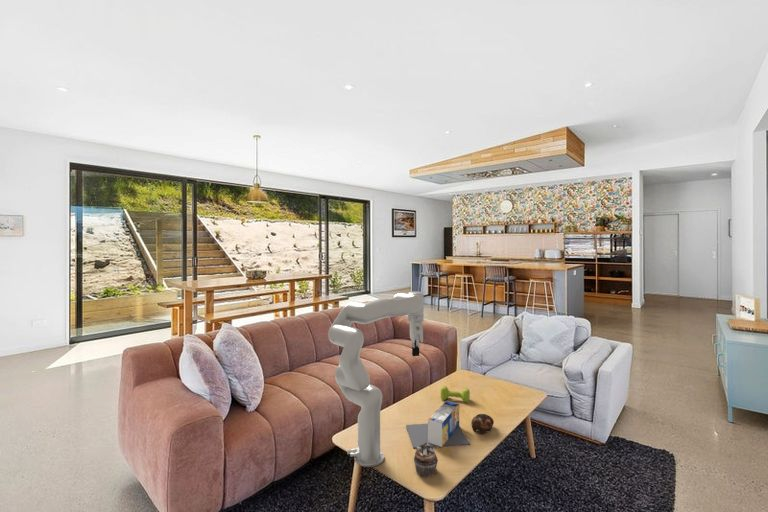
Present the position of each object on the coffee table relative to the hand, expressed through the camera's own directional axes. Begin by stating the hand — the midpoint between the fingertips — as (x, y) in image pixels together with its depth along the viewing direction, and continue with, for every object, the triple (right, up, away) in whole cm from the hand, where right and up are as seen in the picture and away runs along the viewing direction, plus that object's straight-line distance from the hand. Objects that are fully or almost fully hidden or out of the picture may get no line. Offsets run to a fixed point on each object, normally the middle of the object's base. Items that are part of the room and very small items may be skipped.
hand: (415, 355), depth 180 cm
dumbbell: (+26, -36, +36) cm, 57 cm away
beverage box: (+7, -32, -12) cm, 35 cm away
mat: (+10, -37, -2) cm, 39 cm away
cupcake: (+2, -39, -29) cm, 49 cm away
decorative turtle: (+32, -37, +2) cm, 49 cm away
